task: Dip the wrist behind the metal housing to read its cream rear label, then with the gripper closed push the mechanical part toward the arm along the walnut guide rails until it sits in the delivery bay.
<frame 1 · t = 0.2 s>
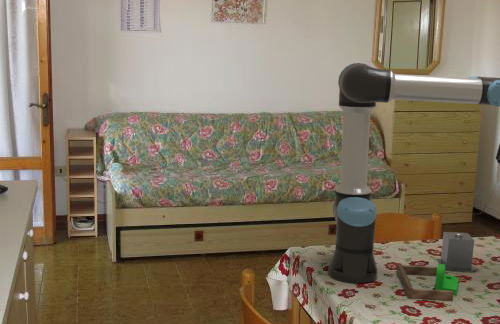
mechanical part: (446, 288, 201), on the table
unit: (455, 266, 220), on the table
bay: (404, 284, 201), on the table
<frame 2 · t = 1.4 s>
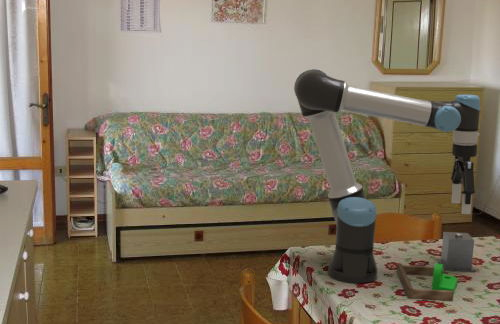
hand: (460, 208, 216), 20 cm above the table, fingers open, 13 cm apart
nothing on the table moved.
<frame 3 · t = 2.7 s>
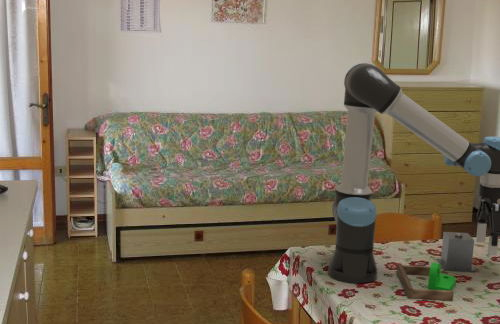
hand: (486, 248, 218), 7 cm above the table, fingers open, 13 cm apart
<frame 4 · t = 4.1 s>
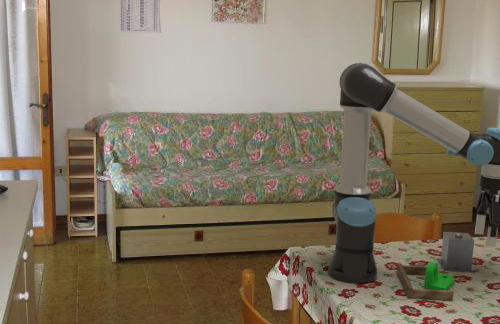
hand: (484, 240, 217), 9 cm above the table, fingers open, 13 cm apart
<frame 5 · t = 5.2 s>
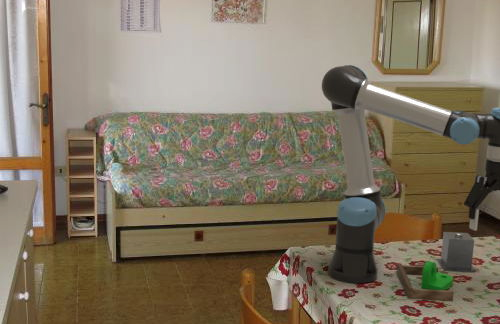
hand: (491, 228, 203), 17 cm above the table, fingers open, 13 cm apart
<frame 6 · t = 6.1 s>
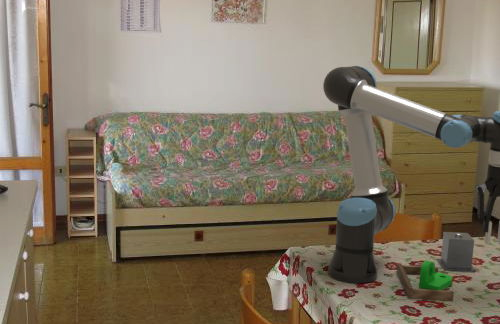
hand: (493, 242, 197), 15 cm above the table, fingers open, 3 cm apart
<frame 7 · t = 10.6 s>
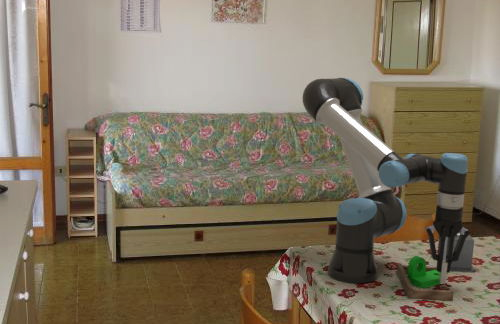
hand: (441, 281, 200), 1 cm above the table, fingers closed
mechanical part: (428, 282, 204), on the table, touching gripper
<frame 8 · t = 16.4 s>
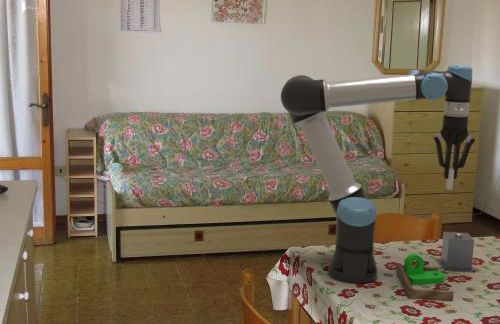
hand: (449, 188, 213), 26 cm above the table, fingers closed
mechanical part: (425, 281, 205), on the table
at the end: mechanical part inside the target area (5.0 cm from its centre), on the table; mechanical part tilted 0°; mechanical part moved 7.5 cm from its start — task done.
